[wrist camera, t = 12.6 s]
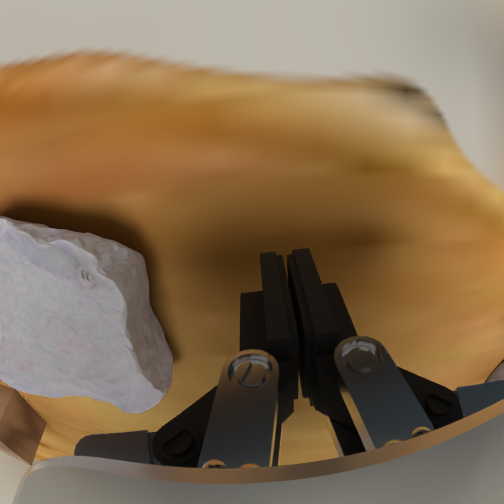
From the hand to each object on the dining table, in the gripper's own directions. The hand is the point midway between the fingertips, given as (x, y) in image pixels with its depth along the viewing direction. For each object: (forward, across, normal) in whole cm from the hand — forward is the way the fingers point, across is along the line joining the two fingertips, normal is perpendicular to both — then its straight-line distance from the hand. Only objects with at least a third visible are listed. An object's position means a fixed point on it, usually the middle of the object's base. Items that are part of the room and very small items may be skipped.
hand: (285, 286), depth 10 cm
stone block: (+2, +11, +1) cm, 11 cm away
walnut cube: (+2, +28, +15) cm, 32 cm away
